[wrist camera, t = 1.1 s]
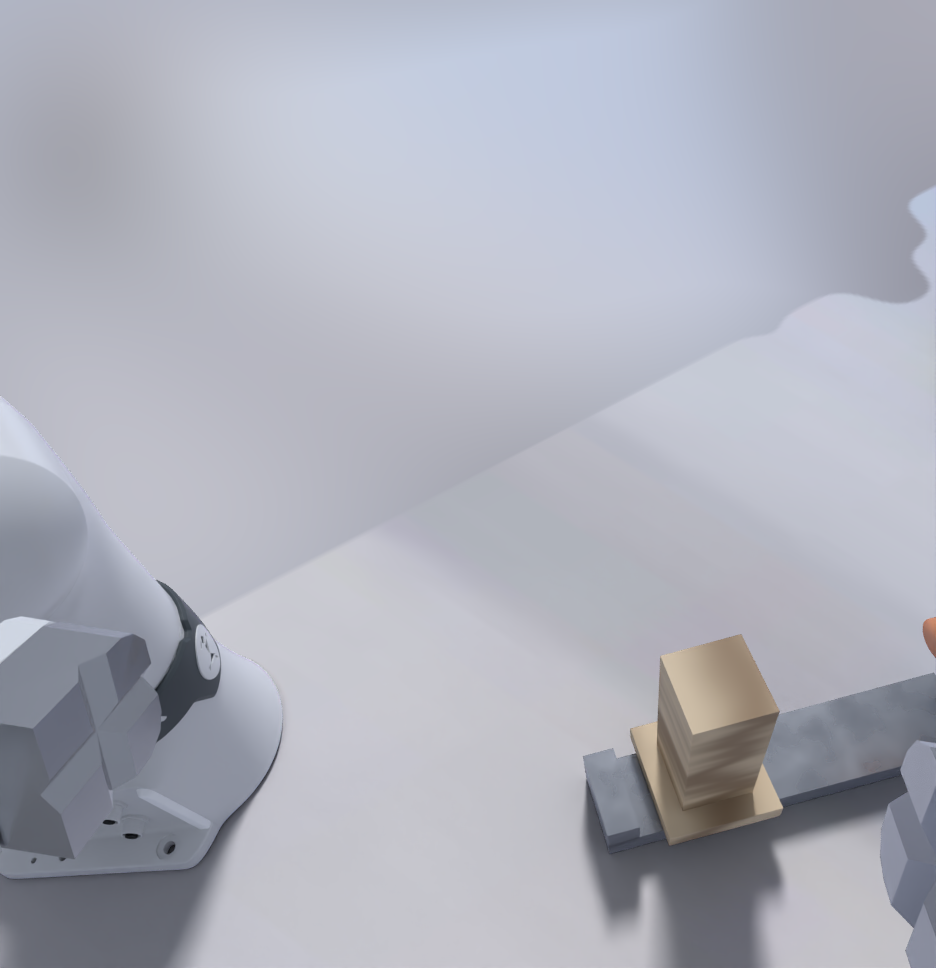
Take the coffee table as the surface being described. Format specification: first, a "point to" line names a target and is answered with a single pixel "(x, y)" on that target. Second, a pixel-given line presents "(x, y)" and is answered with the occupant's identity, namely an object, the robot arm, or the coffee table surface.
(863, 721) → the rail
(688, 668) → the beige post on base
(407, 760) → the coffee table surface
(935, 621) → the reddish-brown cylinder
